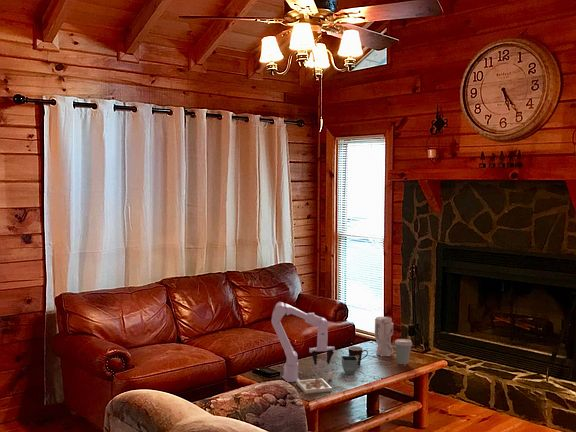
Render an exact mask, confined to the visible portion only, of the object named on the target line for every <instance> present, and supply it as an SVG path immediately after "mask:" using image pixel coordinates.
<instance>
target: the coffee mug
mask: <svg viewBox="0 0 576 432" xmlns="http://www.w3.org/2000/svg"><path fill="white" fill-rule="evenodd" d="M347 348H348V356H356V357H357V359H358V365H359V366H361V363H362V362H361V361H362V360H364V359H365V358H366V357H367V356H368V355H369V351H368V350H367V349H364V348H363V347H361V346H355V345H353V346H349V347H347ZM364 352H367V353H366V354H365V356H363V357H362V355H363V353H364Z"/></svg>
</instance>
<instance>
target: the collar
mask: <svg viewBox="0 0 576 432" xmlns="http://www.w3.org/2000/svg"><path fill="white" fill-rule="evenodd" d="M314 379H315V382H306V385H307V386H308V387H310V388H317V389H318V388H320V387H323V384H322V383H320V380H319V379H320V378H314Z"/></svg>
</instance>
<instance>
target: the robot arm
mask: <svg viewBox="0 0 576 432" xmlns="http://www.w3.org/2000/svg"><path fill="white" fill-rule="evenodd" d="M285 315H286V316H289V315H293V316H296V317H298V318H301V319H304V321H305V323H306V324H309V325H312V326H313V327H316V328H317V333H316V334H317V339H316V340H317V341H316V347H309V350H308V351H309V353H310V354H311V356H312V359H313V364H314V365H315V366H316V365H317V364H318V360H317V359H318V353H317V352H326V363H327V364H328V365H330V362H331V359H332V357H333V355H334V352H335V350H336V348H335V346H328V338H329V337H328V336H329V335H328V334H329V333H328V329H329V323H328V320H327V319H326V318H325V317H322V316H319V315H316V314H315V312H307V313H306V312H305V311H302V310H300V309H299V308H297V307H294V306H292V305H290V304H288V303H284V302H282V301H278V302H276V303H275V305H274V307H273V311H272V314H271V325H272V327H273V329H274V332H275V333H276V336H277V338H278V340H279V342H280V344H281V347H282V348H283V351H284V355H285V357H286V361H285V363H284V365H283V375H282V376H281V377H282V378H283V379H284V381H285V382H286V381H287V382H286V383H293V382H294V383H295V382H297V380H301V379H300V378H299V362H298V361H299V359H298V356H299V355H298V353H297V351H296V350H295V349H294V347H293V346H292V344H291V342H290V340H289V338H288V335H287V333H286V331H285V329H284V326H283V324H282V322H281V321H282V319H283V317H284V316H285Z"/></svg>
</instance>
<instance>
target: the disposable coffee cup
mask: <svg viewBox="0 0 576 432" xmlns="http://www.w3.org/2000/svg"><path fill="white" fill-rule="evenodd" d="M394 344H395V346H394V347H395V357H396V363H399V364H407V363H408V364H409V360H410V359H409V358H410V355H411V349H412V346H413V342H412V340H410V339H406V338H398V339H395V340H394ZM399 364H398V365H399ZM408 364H407V365H408Z"/></svg>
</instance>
